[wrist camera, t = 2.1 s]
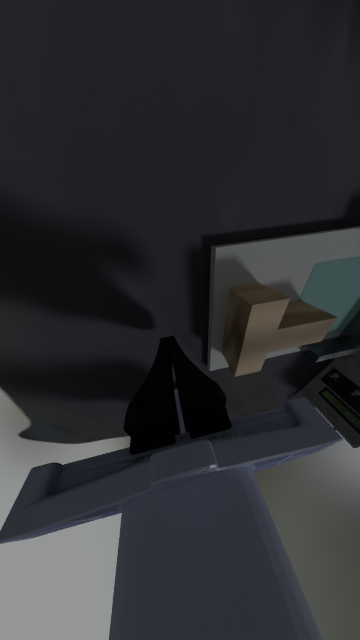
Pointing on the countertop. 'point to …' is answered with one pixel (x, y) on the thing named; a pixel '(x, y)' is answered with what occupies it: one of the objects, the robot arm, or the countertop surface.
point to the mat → (288, 278)
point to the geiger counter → (339, 396)
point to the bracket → (336, 343)
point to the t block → (267, 326)
